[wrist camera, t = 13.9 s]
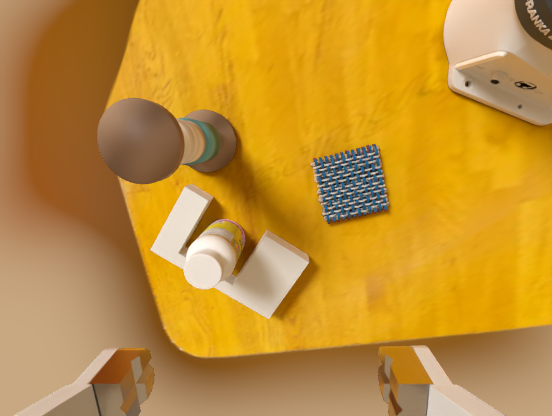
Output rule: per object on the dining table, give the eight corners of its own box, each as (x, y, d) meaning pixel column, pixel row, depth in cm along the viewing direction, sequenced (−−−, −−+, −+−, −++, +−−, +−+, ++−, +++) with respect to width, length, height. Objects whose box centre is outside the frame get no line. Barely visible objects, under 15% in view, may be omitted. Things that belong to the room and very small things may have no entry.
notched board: (308, 254, 46) (309, 262, 43) (269, 308, 49) (268, 319, 46) (192, 183, 45) (184, 186, 42) (158, 243, 47) (150, 250, 44)
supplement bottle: (236, 262, 47) (216, 306, 35) (200, 245, 47) (167, 283, 34) (252, 228, 46) (238, 261, 33) (215, 210, 45) (187, 237, 33)
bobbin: (247, 131, 42) (210, 124, 23) (218, 182, 44) (161, 214, 25) (195, 98, 42) (111, 61, 22) (168, 151, 44) (69, 159, 24)
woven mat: (323, 223, 45) (324, 227, 43) (308, 159, 43) (309, 160, 41) (388, 209, 44) (392, 212, 42) (377, 142, 42) (381, 142, 40)
